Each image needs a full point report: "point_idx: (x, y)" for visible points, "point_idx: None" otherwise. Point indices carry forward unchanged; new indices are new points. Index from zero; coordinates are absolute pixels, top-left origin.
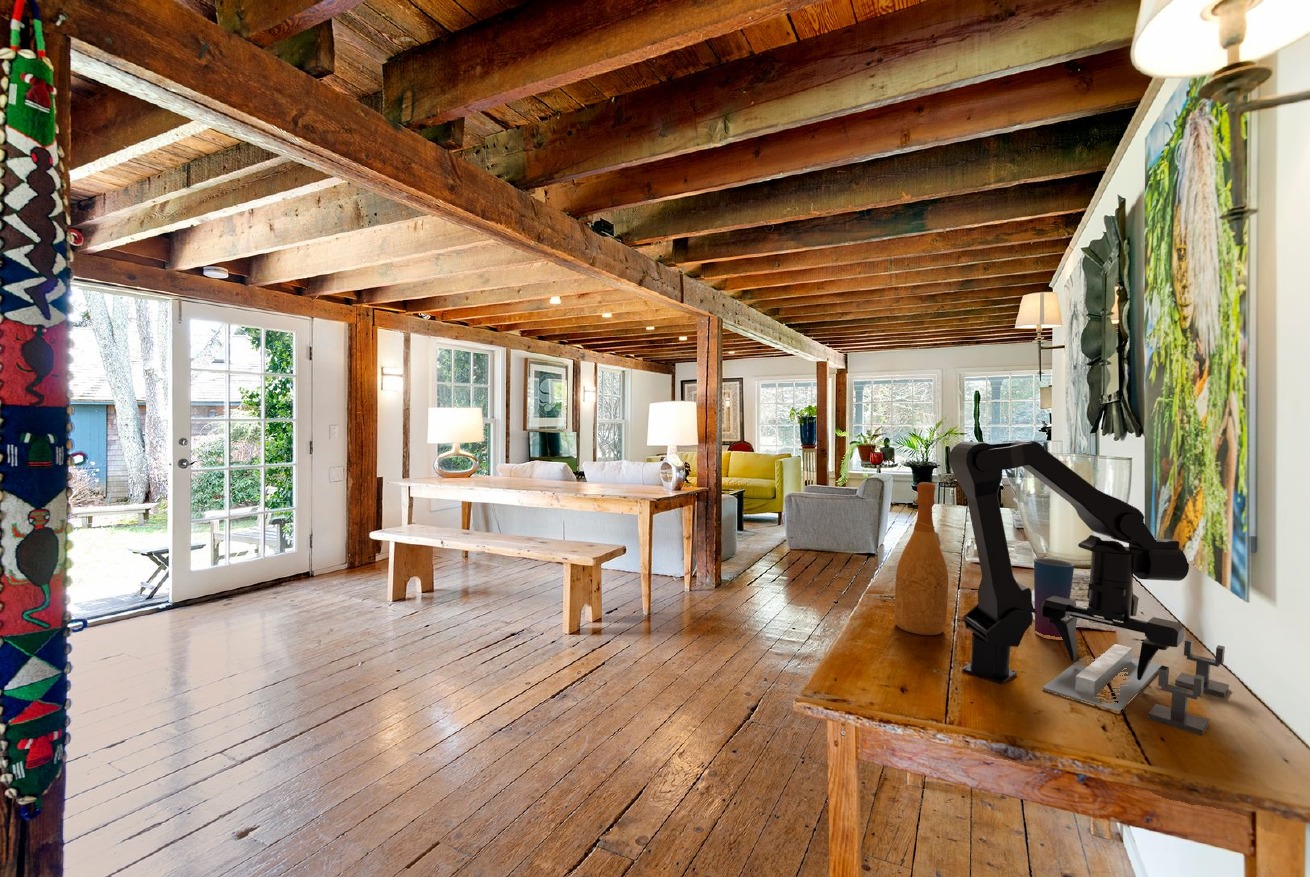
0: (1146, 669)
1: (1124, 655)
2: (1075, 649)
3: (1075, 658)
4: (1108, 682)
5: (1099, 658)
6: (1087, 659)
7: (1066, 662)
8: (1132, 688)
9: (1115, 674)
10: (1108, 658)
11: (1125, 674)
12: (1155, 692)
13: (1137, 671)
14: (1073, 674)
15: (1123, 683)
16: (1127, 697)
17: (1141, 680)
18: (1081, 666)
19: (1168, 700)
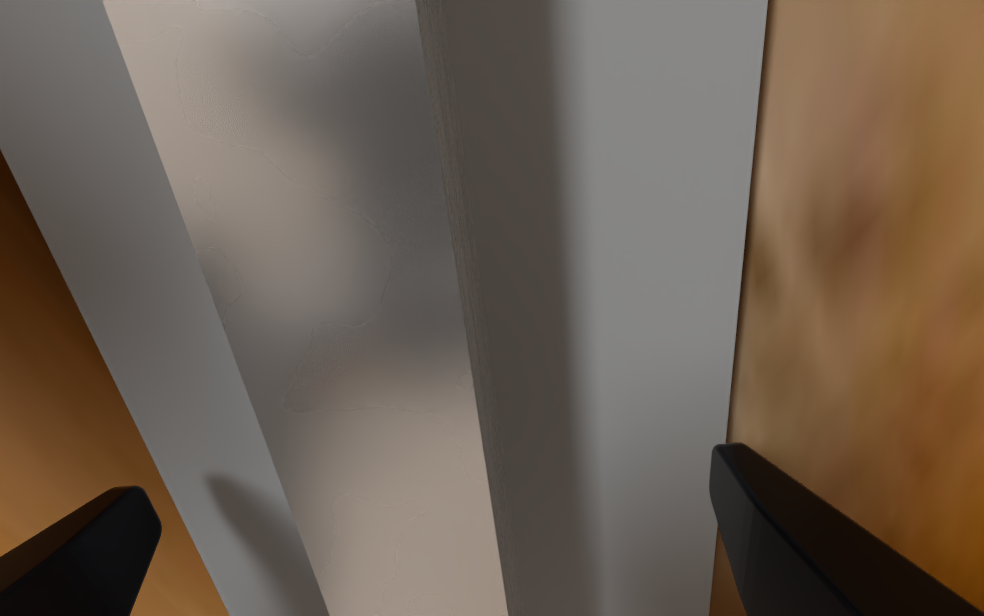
0: (838, 517)
1: (424, 52)
2: (49, 609)
3: (130, 513)
4: (519, 581)
5: (323, 552)
6: (44, 94)
7: (24, 309)
8: (673, 528)
9: (496, 418)
10: (373, 462)
11: (530, 230)
12: (816, 368)
13: (746, 604)
14: (292, 600)
15: (595, 489)
16: None
17: (695, 268)
18: (197, 399)
19: (911, 451)
